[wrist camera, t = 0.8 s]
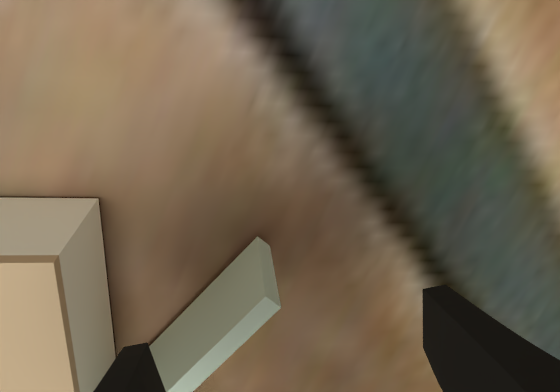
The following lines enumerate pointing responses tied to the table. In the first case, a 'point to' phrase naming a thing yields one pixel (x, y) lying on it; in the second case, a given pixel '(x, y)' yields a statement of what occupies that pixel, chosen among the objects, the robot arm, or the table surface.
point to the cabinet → (53, 296)
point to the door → (218, 320)
